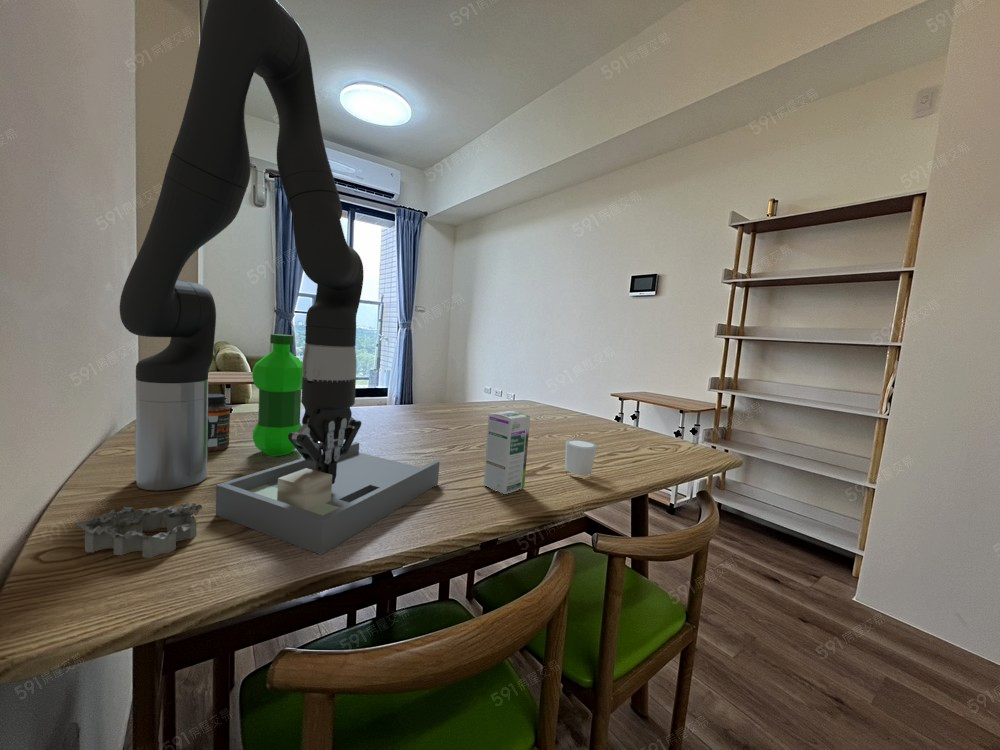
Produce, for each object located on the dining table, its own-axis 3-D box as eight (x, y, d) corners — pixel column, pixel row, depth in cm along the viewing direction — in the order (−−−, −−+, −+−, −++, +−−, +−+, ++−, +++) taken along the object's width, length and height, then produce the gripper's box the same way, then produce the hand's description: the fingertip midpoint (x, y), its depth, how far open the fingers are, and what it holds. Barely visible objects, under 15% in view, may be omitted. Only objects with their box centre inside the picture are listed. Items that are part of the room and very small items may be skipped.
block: (276, 505, 57) (277, 478, 57) (305, 493, 62) (306, 468, 62) (304, 513, 56) (305, 485, 55) (331, 500, 60) (332, 474, 60)
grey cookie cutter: (207, 533, 54) (207, 503, 53) (155, 564, 46) (155, 531, 46) (132, 523, 55) (132, 493, 54) (69, 552, 47) (68, 519, 47)
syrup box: (504, 496, 74) (512, 418, 72) (482, 485, 78) (488, 411, 76) (524, 489, 78) (531, 415, 77) (502, 479, 82) (508, 409, 81)
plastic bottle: (276, 463, 80) (280, 336, 77) (238, 453, 84) (240, 332, 81) (315, 450, 89) (320, 337, 87) (279, 442, 93) (283, 333, 90)
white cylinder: (583, 468, 94) (586, 439, 93) (599, 479, 88) (603, 447, 87) (556, 469, 92) (560, 439, 91) (571, 480, 85) (575, 448, 85)
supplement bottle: (221, 452, 83) (222, 398, 82) (188, 451, 82) (188, 396, 81) (234, 444, 89) (235, 393, 88) (204, 443, 88) (204, 392, 87)
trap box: (437, 484, 77) (439, 461, 76) (321, 554, 51) (322, 520, 50) (354, 463, 84) (355, 442, 83) (215, 514, 58) (216, 484, 58)
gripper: (342, 369, 69) (338, 467, 71) (273, 375, 57) (270, 493, 59) (378, 374, 66) (373, 476, 68) (313, 381, 54) (309, 505, 56)
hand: (325, 484), depth 63 cm, fingers closed
